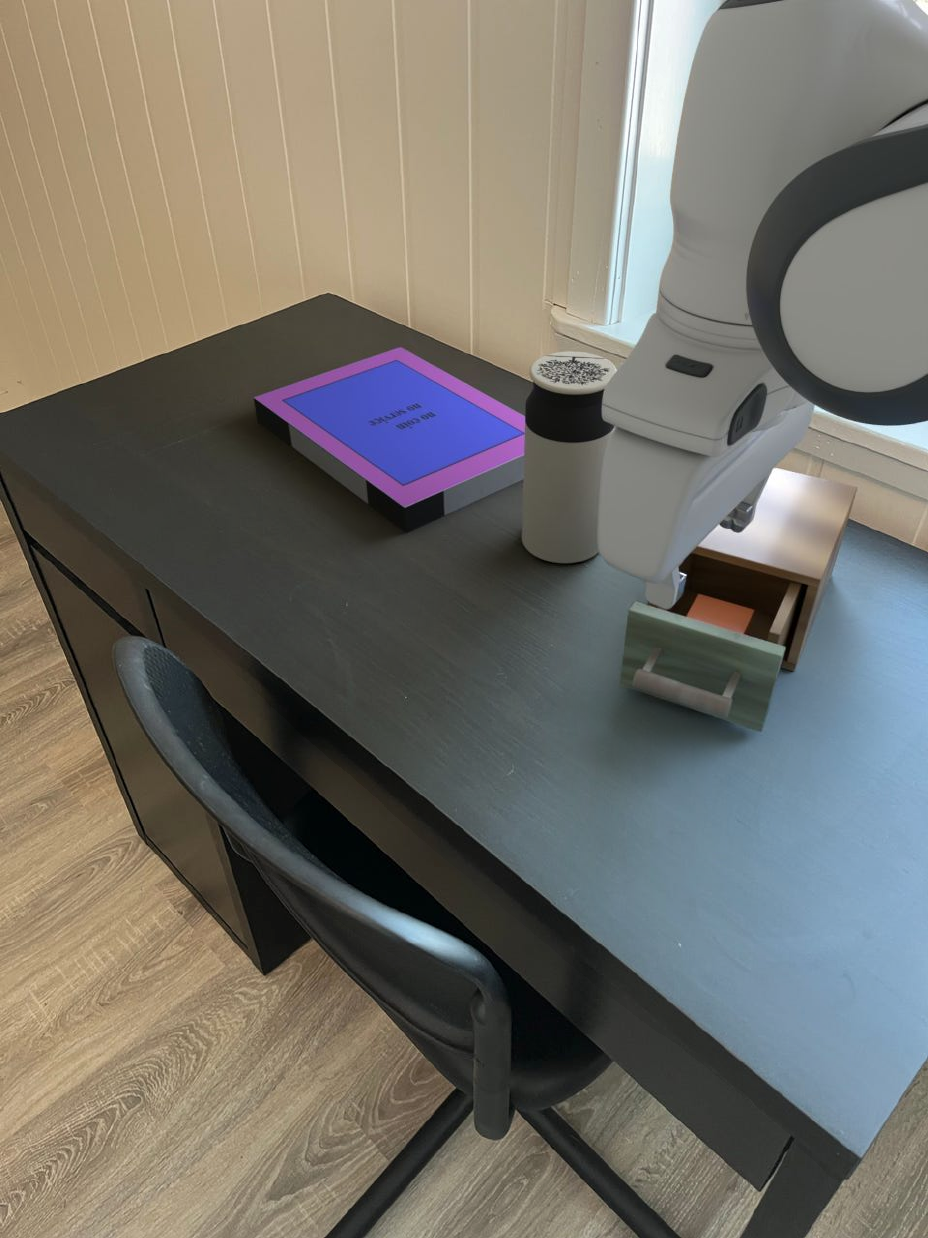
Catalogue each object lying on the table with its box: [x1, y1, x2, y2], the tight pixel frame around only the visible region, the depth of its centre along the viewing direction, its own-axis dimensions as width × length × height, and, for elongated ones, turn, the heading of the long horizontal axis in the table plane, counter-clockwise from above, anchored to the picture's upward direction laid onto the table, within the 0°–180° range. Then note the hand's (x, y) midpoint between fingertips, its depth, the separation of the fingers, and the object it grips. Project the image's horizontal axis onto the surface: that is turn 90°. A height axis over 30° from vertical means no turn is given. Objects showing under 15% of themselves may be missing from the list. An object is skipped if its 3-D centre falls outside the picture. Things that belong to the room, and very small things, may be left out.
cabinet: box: [691, 467, 858, 672], centre depth 82 cm, size 15×13×10 cm
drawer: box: [619, 553, 806, 733], centre depth 74 cm, size 18×11×8 cm, turn 152°
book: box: [252, 346, 525, 534], centre depth 107 cm, size 21×3×30 cm
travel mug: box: [521, 350, 618, 564], centre depth 86 cm, size 8×8×18 cm
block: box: [686, 594, 754, 636], centre depth 74 cm, size 4×4×4 cm
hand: (700, 560), depth 58 cm, fingers open, 8 cm apart
